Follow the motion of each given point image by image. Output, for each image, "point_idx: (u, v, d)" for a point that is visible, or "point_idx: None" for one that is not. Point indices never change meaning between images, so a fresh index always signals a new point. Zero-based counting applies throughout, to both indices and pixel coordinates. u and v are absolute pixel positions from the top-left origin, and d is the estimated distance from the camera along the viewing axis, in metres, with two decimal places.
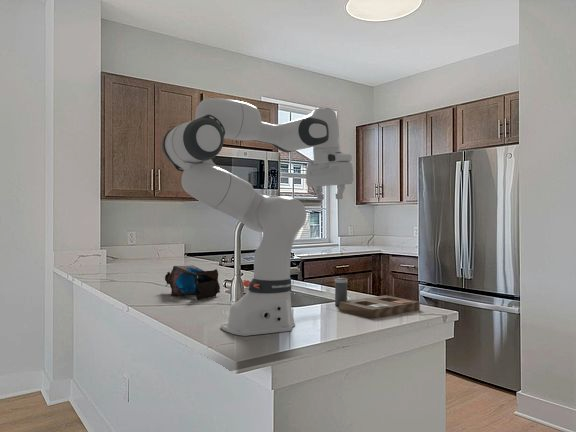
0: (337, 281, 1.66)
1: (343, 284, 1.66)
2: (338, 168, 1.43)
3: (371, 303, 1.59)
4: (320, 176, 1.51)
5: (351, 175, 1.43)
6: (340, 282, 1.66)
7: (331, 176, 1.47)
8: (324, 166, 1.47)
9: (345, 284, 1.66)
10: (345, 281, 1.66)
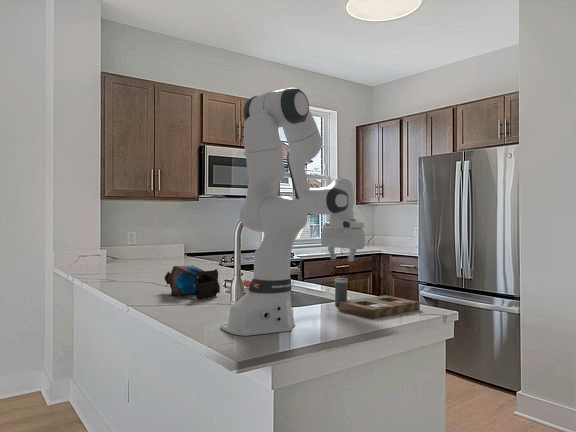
0: (337, 281, 1.66)
1: (343, 284, 1.66)
2: (351, 234, 1.61)
3: (371, 303, 1.59)
4: (334, 238, 1.68)
5: (363, 241, 1.61)
6: (340, 282, 1.66)
7: (344, 240, 1.64)
8: (339, 230, 1.65)
9: (345, 284, 1.66)
10: (345, 281, 1.66)
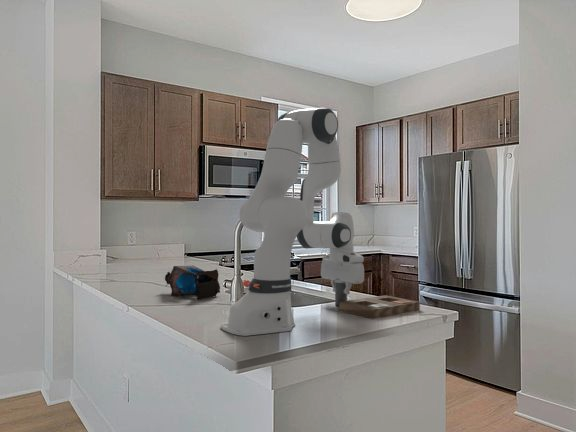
0: (337, 281, 1.66)
1: (343, 284, 1.66)
2: (351, 268, 1.61)
3: (371, 303, 1.59)
4: (334, 271, 1.68)
5: (363, 275, 1.60)
6: (340, 282, 1.66)
7: (344, 273, 1.64)
8: (338, 264, 1.65)
9: None
10: None
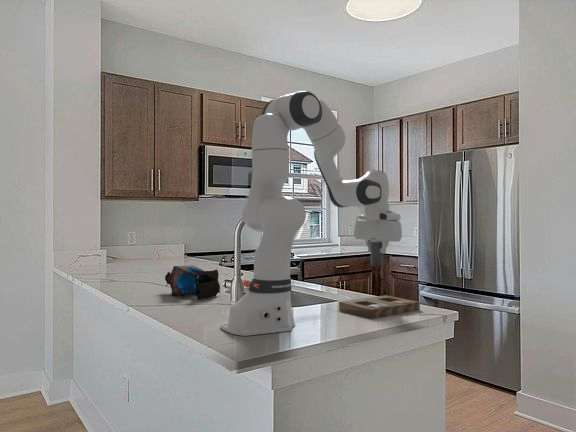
0: (373, 240, 1.64)
1: (379, 243, 1.63)
2: (388, 226, 1.58)
3: (371, 303, 1.59)
4: (369, 230, 1.66)
5: (400, 233, 1.58)
6: (376, 241, 1.63)
7: (380, 232, 1.62)
8: (374, 223, 1.63)
9: (381, 243, 1.64)
10: None
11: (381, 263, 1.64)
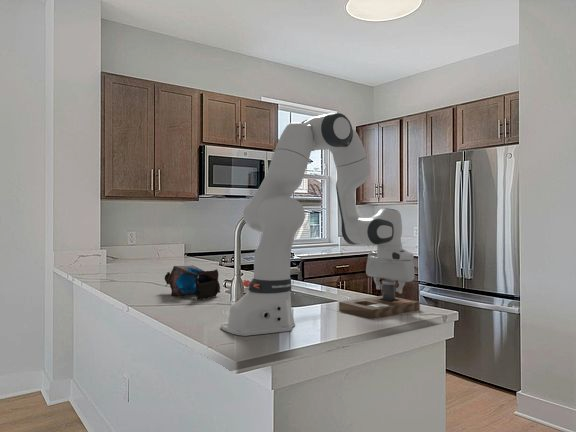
0: (385, 283, 1.62)
1: (391, 286, 1.62)
2: (401, 266, 1.57)
3: (371, 303, 1.59)
4: (381, 268, 1.65)
5: (413, 273, 1.57)
6: (388, 284, 1.62)
7: (393, 271, 1.60)
8: (387, 261, 1.61)
9: (393, 286, 1.62)
10: (393, 283, 1.62)
11: None
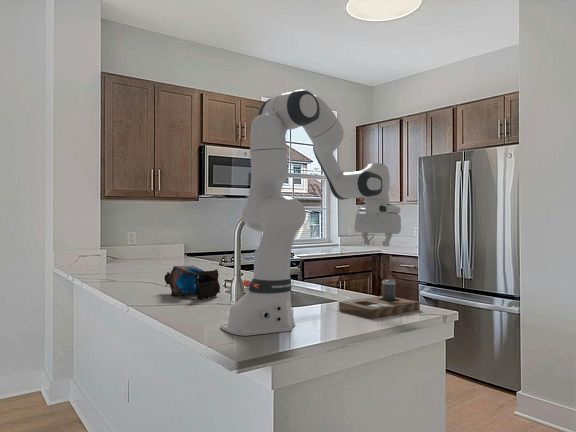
0: (385, 283, 1.62)
1: (391, 286, 1.62)
2: (388, 218, 1.59)
3: (371, 303, 1.59)
4: (369, 223, 1.67)
5: (399, 226, 1.59)
6: (388, 284, 1.62)
7: (380, 224, 1.62)
8: (374, 215, 1.63)
9: (393, 286, 1.62)
10: (393, 283, 1.62)
11: None
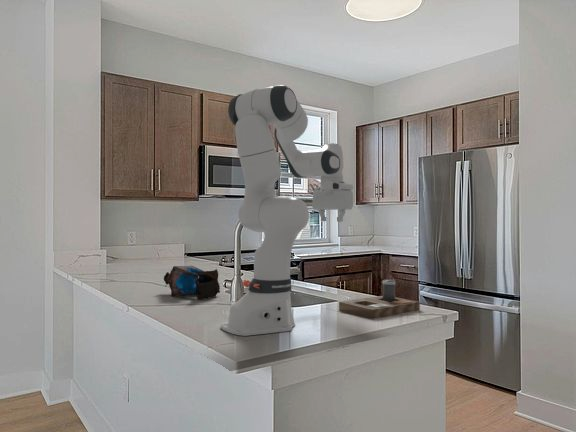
0: (385, 283, 1.62)
1: (391, 286, 1.62)
2: (341, 195, 1.68)
3: (371, 303, 1.59)
4: (324, 200, 1.76)
5: (351, 202, 1.68)
6: (388, 284, 1.62)
7: (334, 201, 1.72)
8: (329, 192, 1.73)
9: (393, 286, 1.62)
10: (393, 283, 1.62)
11: None
